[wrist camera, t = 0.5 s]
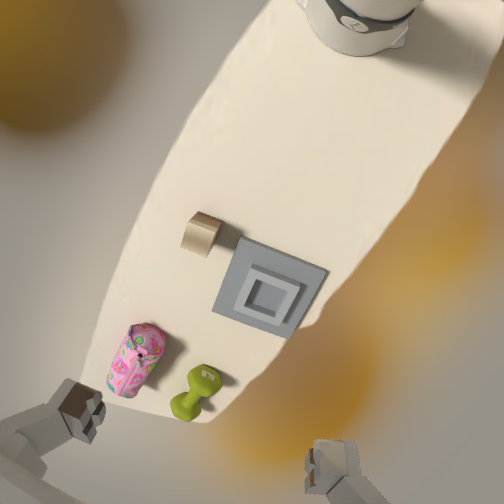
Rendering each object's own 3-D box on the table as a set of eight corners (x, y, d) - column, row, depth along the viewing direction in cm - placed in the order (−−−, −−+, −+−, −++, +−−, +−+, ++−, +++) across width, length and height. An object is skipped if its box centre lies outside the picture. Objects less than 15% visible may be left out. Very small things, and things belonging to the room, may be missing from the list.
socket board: (240, 235, 53) (238, 242, 50) (325, 269, 54) (327, 277, 51) (212, 307, 59) (209, 317, 56) (288, 335, 60) (288, 345, 57)
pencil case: (139, 312, 62) (121, 337, 54) (175, 335, 63) (161, 363, 55) (113, 363, 70) (98, 387, 62) (142, 382, 71) (130, 407, 63)
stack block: (198, 211, 52) (188, 221, 46) (222, 220, 52) (215, 232, 47) (190, 234, 54) (180, 247, 48) (214, 243, 54) (206, 257, 48)
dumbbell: (200, 406, 72) (193, 427, 66) (172, 393, 71) (164, 414, 65) (227, 372, 66) (222, 395, 59) (195, 357, 65) (187, 379, 58)
